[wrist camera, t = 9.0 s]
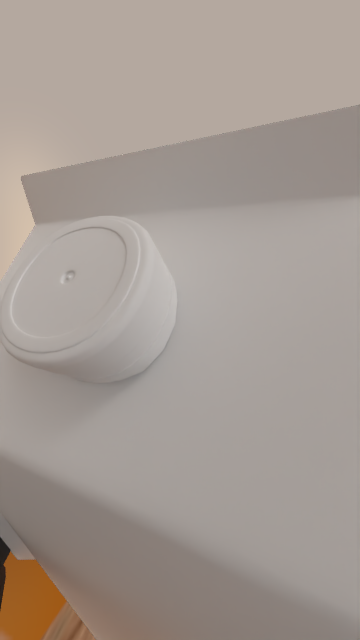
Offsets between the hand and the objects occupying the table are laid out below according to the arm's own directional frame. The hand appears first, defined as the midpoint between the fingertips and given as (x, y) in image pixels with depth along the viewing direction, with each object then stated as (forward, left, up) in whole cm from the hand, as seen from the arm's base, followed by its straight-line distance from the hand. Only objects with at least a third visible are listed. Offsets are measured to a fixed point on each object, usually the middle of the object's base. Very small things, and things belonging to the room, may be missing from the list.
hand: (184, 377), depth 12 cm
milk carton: (+1, +4, -10) cm, 11 cm away
